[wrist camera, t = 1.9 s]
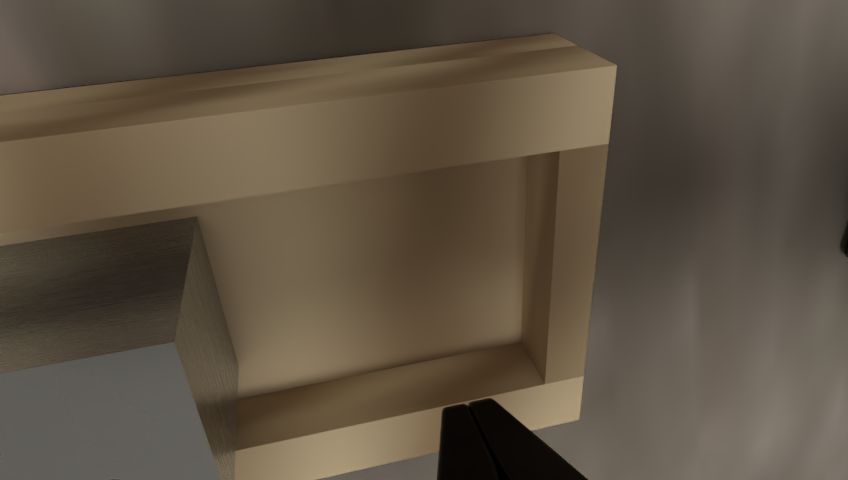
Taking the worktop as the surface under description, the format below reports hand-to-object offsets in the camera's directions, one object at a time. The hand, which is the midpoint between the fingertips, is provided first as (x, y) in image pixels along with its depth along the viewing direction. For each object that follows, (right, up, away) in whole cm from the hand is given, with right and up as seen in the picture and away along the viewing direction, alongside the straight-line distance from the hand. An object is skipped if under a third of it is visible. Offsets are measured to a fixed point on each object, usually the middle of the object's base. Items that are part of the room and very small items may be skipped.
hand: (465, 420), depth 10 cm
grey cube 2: (-7, +1, +3) cm, 8 cm away
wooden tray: (-6, +2, +4) cm, 8 cm away
